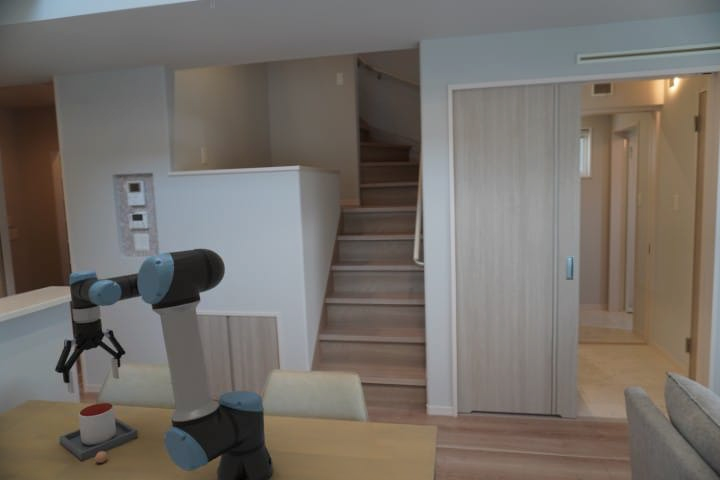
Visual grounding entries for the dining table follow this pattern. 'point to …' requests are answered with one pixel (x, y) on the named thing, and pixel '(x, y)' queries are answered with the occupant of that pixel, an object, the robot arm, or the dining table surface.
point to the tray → (87, 451)
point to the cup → (97, 423)
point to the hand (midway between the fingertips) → (94, 384)
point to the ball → (101, 457)
